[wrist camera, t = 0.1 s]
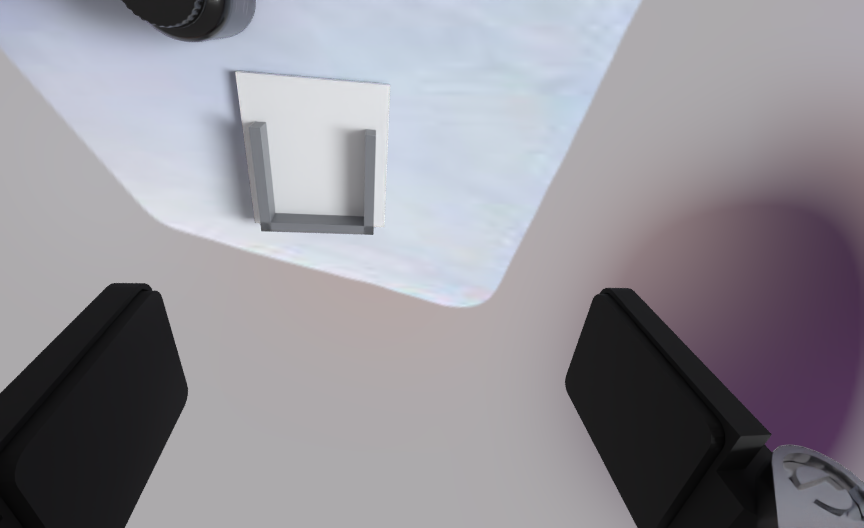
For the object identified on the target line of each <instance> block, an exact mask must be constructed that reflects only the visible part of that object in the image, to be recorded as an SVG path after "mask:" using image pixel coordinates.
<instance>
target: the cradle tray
mask: <svg viewBox="0 0 864 528" xmlns="http://www.w3.org/2000/svg"><path fill="white" fill-rule="evenodd" d="M235 74H236V82H237V89H238V97H239V105H240V112H241V120H242V128H243V135H244V143H245V150H246V158H247V166H248V173H249V181H250V189H251V196H252V204H253V212H254V219H255V223H260V224H261V231H273V232H304V233H335V234H367V235H373V227H384V224H385V199H386V175H387V151H388V127H389V103H390V84H384V83H373V82H361V81H350V80H339V79H327V78H316V77H304V76H293V75H282V74H270V73H259V72H247V71H236V72H235Z"/></svg>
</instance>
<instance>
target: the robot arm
mask: <svg viewBox="0 0 864 528" xmlns="http://www.w3.org/2000/svg"><path fill="white" fill-rule="evenodd" d="M565 385H566V390H567V393H568V395H569V397H570V399H571V401H572V402H573V404H574V406H575V408H576V410H577V412H578V414H579V416H580V418H581V420H582V422H583V424H584V425H585V427H586V429H587V431H588V433H589V435H590V437H591V439H592V441H593V443H594V445H595V447H596V449H597V450H598V453H599V454H600V456H601V458H602V460H603V462H604V464H605V466H606V468H607V470H608V472H609V474H610V476H611V478H612V479H613V481H614V483H615V485H616V487H617V489H618V491H619V493H620V495H621V497H622V499H623V501H624V503H625V504H626V506H627V508H628V510H629V512H630V514H631V516H632V518H633V520H634V522H635V524H636V525H637V527H638V528H864V483H863V482H862V481H861V480H860V479H859V478H858V477H857V476H856V475H854V474H853V473H852V472H851V471H849V470H848V469H846V468H845V467H844V466H842V465H841V464H839V463H838V462H836V461H835V460H833V459H831V458H829V457H827V456H825V455H823V454H821V453H819V452H816V451H814V450H811V449H808V448H805V447H802V446H794V445H784V446H779V447H778V448H777V449H776V450H774V451H773V452H771V451H770V450H769V449H768V448H767V447H766V446H765V445H764V444H765V443H766V441H767V440H768V439H769V438H770V436H771V433H770V432H769V431H768V430H767V429H766V428H765V427H764V426H763V425H762V424H761V423H760V422H759V421H758V420H757V419H756V418H755V417H754V416H753V415H752V414H751V413H750V411H748V409H747V408H746V407H745V406H744V405H743V404H742V403H741V402H740V401H739V400H738V399H737V398H736V397H735V396H734V395H733V394H732V393H731V392H730V391H729V390H728V389H727V388H726V387H725V386H724V385H723V383H722V382H721V381H720V380H719V379H718V378H717V377H716V376H715V375H714V374H713V373H712V372H711V371H710V370H709V369H708V368H707V367H706V366H705V365H704V364H703V363H702V361H701V360H700V359H699V358H698V357H697V356H696V355H694V353H693V352H692V351H691V350H690V349H689V348H688V347H687V346H686V345H685V344H684V343H683V342H682V341H681V340H680V339H679V338H678V337H677V335H676V334H675V333H674V332H673V331H672V330H671V329H670V328H669V327H668V326H667V325H666V324H665V323H664V322H663V321H662V320H661V319H660V318H659V317H658V316H657V315H656V314H655V313H654V312H653V310H652V309H651V308H650V307H649V306H648V305H647V304H646V303H645V302H644V301H643V300H642V299H641V298H640V297H639V296H638V295H637V294H636V293H635V292H634V291H633V290H632V289H629V288H605V289H603V290H602V291H601V292H600V294H597V295H596V296H595V297H594V298H593V300H592V303H591V306H590V309H589V312H588V315H587V318H586V320H585V324H584V326H583V329H582V332H581V335H580V338H579V340H578V343H577V346H576V349H575V352H574V355H573V358H572V360H571V363H570V367H569V369H568V372H567V375H566V379H565ZM187 396H188V387H187V383H186V379H185V376H184V373H183V369H182V366H181V362H180V358H179V355H178V351H177V348H176V345H175V341H174V338H173V334H172V331H171V327H170V323H169V320H168V317H167V313H166V310H165V306H164V303H163V299H162V297H161V294H160V293H159V292H158V291H152V288H151V287H150V286H149V285H147V284H145V283H114V284H110V285H109V286H107V287H106V288H105V289H104V290H103V291H102V292H101V293H100V294H99V295H98V296H97V297H96V298H95V299H94V300H93V301H92V302H91V303H90V304H89V305H88V306H87V307H86V308H85V309H84V310H83V311H82V312H81V313H80V314H79V315H78V316H77V317H76V318H75V319H74V320H73V321H72V322H71V323H70V324H69V325H68V326H67V327H66V328H65V329H64V330H63V331H62V332H61V333H60V334H59V335H58V336H57V337H56V338H55V339H54V340H53V341H52V342H51V343H50V344H49V345H48V346H47V347H46V348H45V349H44V350H43V351H42V352H41V353H40V354H39V355H38V356H37V357H36V358H35V359H34V360H33V361H32V362H31V363H30V364H29V365H28V366H27V367H26V368H25V369H24V370H23V371H22V372H21V373H20V375H18V376H17V377H16V378H15V379H14V380H13V381H12V382H11V383H10V384H9V385H8V386H7V387H6V388H5V389H4V390H3V391H2V392H1V393H0V528H125V526H126V524H127V522H128V520H129V518H130V516H131V514H132V512H133V510H134V508H135V505H136V504H137V502H138V499H139V497H140V495H141V493H142V491H143V489H144V487H145V485H146V483H147V481H148V479H149V477H150V475H151V473H152V471H153V469H154V467H155V465H156V463H157V461H158V459H159V457H160V455H161V453H162V450H163V448H164V446H165V444H166V442H167V440H168V438H169V436H170V434H171V432H172V430H173V428H174V426H175V424H176V422H177V420H178V418H179V416H180V414H181V412H182V410H183V408H184V406H185V403H186V400H187Z"/></svg>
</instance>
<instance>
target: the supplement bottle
mask: <svg viewBox="0 0 864 528" xmlns="http://www.w3.org/2000/svg"><path fill="white" fill-rule="evenodd" d="M122 1H123V2H124V3H125V4H126V6H127V8H129V9H130V10H132V11H133V13H134V14H135V15H137V16H139V17H140V18H141V19H142V20H144V21H146V22H147V23H149V24H150V25H151V26H152V27H153V28H155V29H156V30H158V31H159V32H161V33H162V34H164V35H166V36H168V37H171V38H173V39H176V40H180V41H185V42H202V41H208V40H215V39H221V38H227V37H231V36H234V35H237V34H239V33H240V32H242V31H243V30H244V29H245V28H246V27H247V26H248V25H249V24H250V22H251V20H252V18H253V15H254V12H255V5H256V0H122Z"/></svg>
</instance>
